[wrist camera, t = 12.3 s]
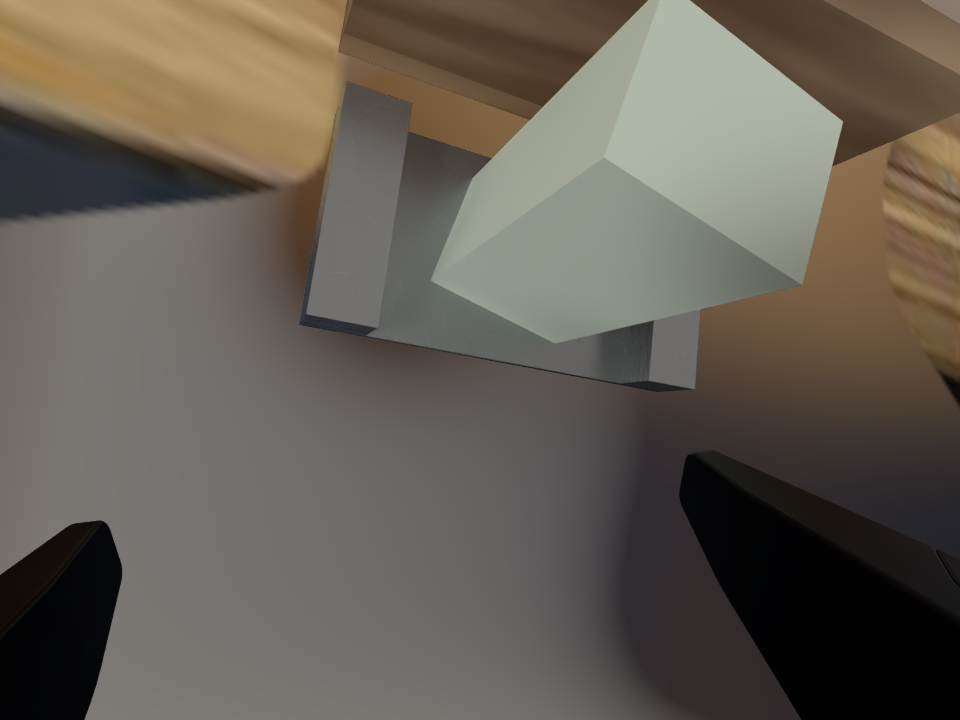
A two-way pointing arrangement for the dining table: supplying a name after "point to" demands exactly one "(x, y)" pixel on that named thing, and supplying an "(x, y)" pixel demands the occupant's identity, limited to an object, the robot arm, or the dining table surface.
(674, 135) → the sage green block
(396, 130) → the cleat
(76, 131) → the dining table surface
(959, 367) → the dining table surface
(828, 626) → the robot arm
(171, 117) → the dining table surface
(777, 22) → the wall board
